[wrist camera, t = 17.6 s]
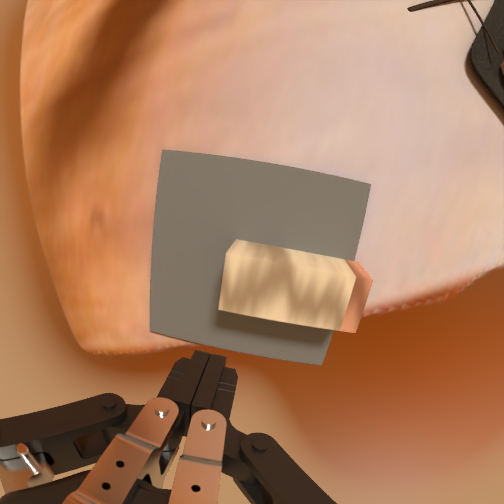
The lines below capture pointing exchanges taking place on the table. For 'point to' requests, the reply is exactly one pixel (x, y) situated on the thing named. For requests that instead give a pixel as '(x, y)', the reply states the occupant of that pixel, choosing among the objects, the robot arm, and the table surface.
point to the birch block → (293, 286)
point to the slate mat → (248, 229)
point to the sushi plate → (486, 47)
